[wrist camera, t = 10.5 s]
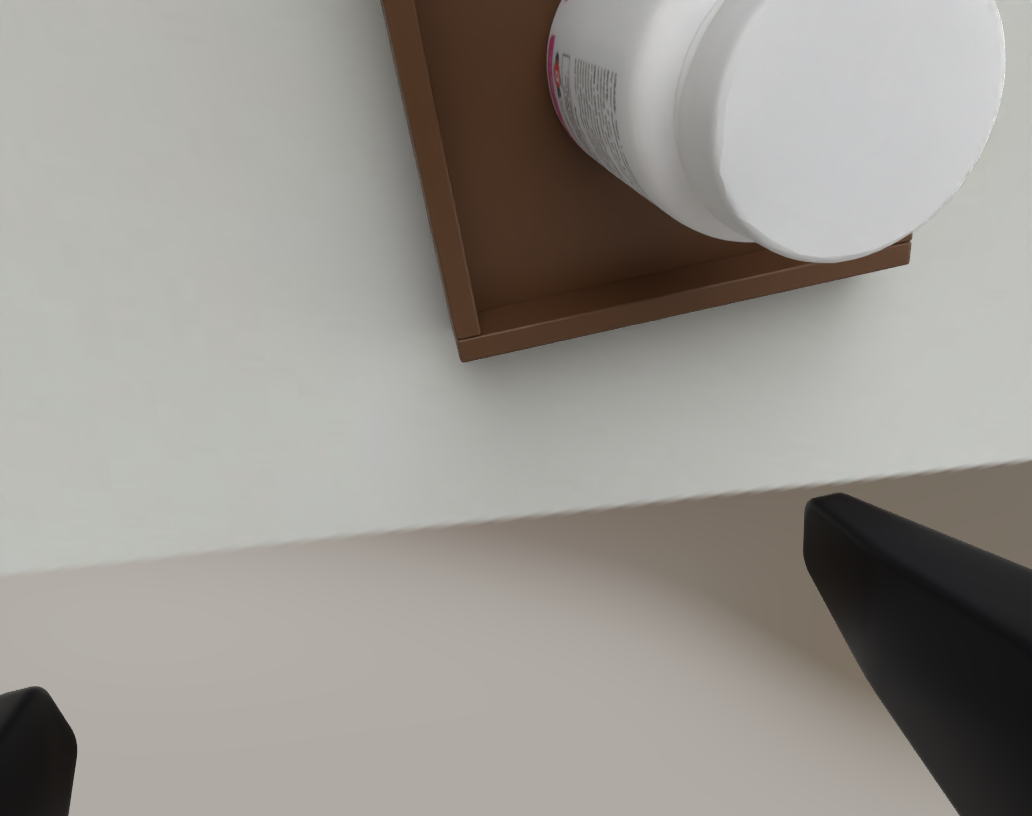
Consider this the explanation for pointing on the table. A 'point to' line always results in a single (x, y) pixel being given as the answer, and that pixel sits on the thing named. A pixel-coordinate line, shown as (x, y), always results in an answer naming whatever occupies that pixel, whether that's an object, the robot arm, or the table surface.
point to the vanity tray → (549, 196)
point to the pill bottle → (783, 111)
